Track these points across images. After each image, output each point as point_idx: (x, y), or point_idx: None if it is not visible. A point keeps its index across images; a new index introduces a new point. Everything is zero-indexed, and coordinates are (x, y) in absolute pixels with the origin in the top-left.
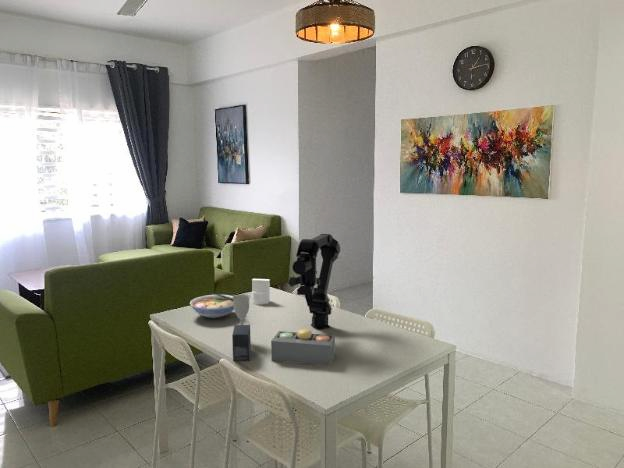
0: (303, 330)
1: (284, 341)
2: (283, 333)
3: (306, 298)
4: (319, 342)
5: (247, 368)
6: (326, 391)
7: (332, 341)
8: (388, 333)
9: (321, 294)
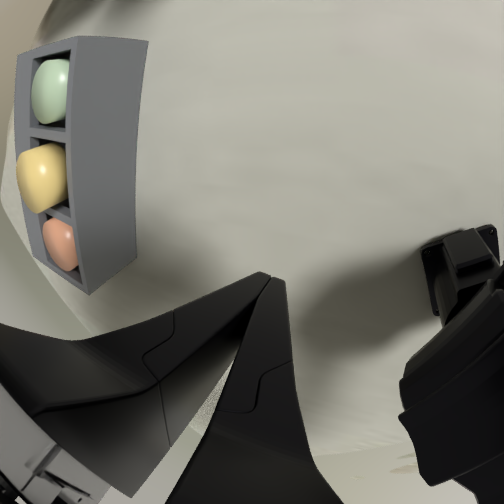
0: (33, 178)
1: (15, 104)
2: (54, 72)
3: (158, 328)
4: (34, 228)
5: (48, 13)
6: (17, 205)
7: (56, 270)
8: (312, 431)
9: (449, 468)
